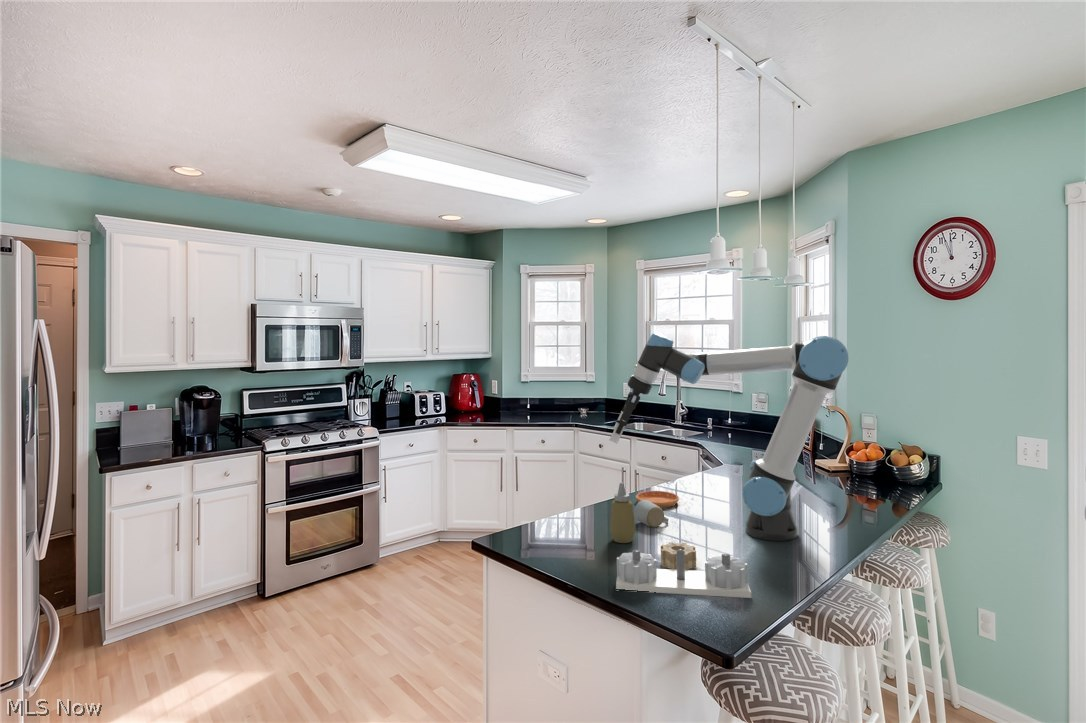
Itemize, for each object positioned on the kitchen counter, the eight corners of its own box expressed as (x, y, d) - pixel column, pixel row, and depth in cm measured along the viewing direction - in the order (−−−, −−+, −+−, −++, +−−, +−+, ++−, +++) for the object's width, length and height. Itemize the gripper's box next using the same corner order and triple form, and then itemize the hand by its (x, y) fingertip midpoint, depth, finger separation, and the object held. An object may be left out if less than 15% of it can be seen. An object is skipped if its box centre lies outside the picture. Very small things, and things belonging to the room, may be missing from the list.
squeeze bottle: (619, 547, 168) (618, 487, 168) (604, 539, 175) (603, 482, 175) (641, 541, 172) (640, 484, 171) (625, 534, 179) (624, 478, 179)
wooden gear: (694, 558, 158) (694, 542, 157) (697, 572, 148) (697, 555, 148) (660, 557, 159) (660, 541, 159) (661, 570, 150) (661, 553, 150)
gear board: (743, 578, 144) (743, 544, 143) (751, 598, 133) (750, 560, 132) (618, 572, 150) (617, 539, 149) (616, 590, 139) (615, 554, 139)
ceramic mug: (647, 530, 183) (647, 506, 182) (633, 523, 190) (633, 500, 190) (674, 525, 187) (674, 502, 187) (659, 518, 194) (659, 497, 194)
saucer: (680, 510, 203) (680, 502, 203) (635, 509, 206) (635, 501, 206) (677, 498, 219) (677, 491, 219) (636, 497, 222) (636, 490, 222)
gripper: (634, 367, 193) (609, 420, 198) (629, 381, 169) (600, 441, 174) (654, 376, 192) (628, 429, 197) (652, 392, 168) (622, 452, 173)
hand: (615, 435), depth 186 cm, fingers open, 13 cm apart
